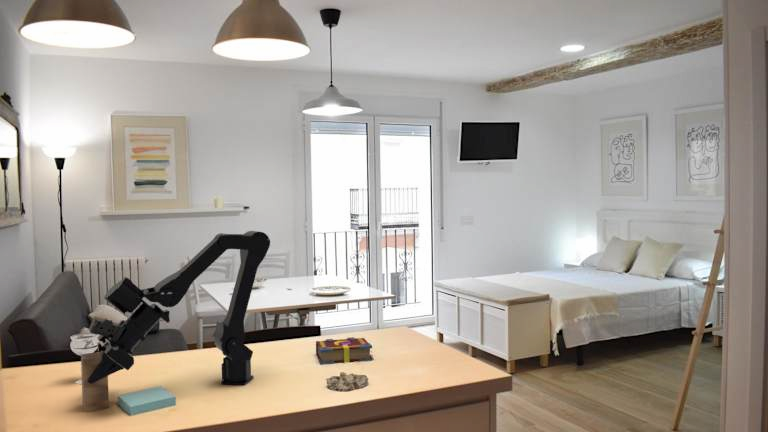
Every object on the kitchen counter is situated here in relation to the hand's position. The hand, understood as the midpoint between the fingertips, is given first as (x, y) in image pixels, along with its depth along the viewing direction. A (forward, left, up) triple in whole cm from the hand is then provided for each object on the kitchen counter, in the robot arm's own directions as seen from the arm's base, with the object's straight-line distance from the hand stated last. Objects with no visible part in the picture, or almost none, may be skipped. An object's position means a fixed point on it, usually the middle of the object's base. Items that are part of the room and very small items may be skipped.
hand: (88, 379), depth 138 cm
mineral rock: (-55, -23, -7) cm, 60 cm away
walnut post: (-1, -1, -7) cm, 7 cm away
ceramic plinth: (-12, -4, -7) cm, 15 cm away
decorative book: (-48, -49, -7) cm, 69 cm away
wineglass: (+14, -18, -7) cm, 24 cm away
